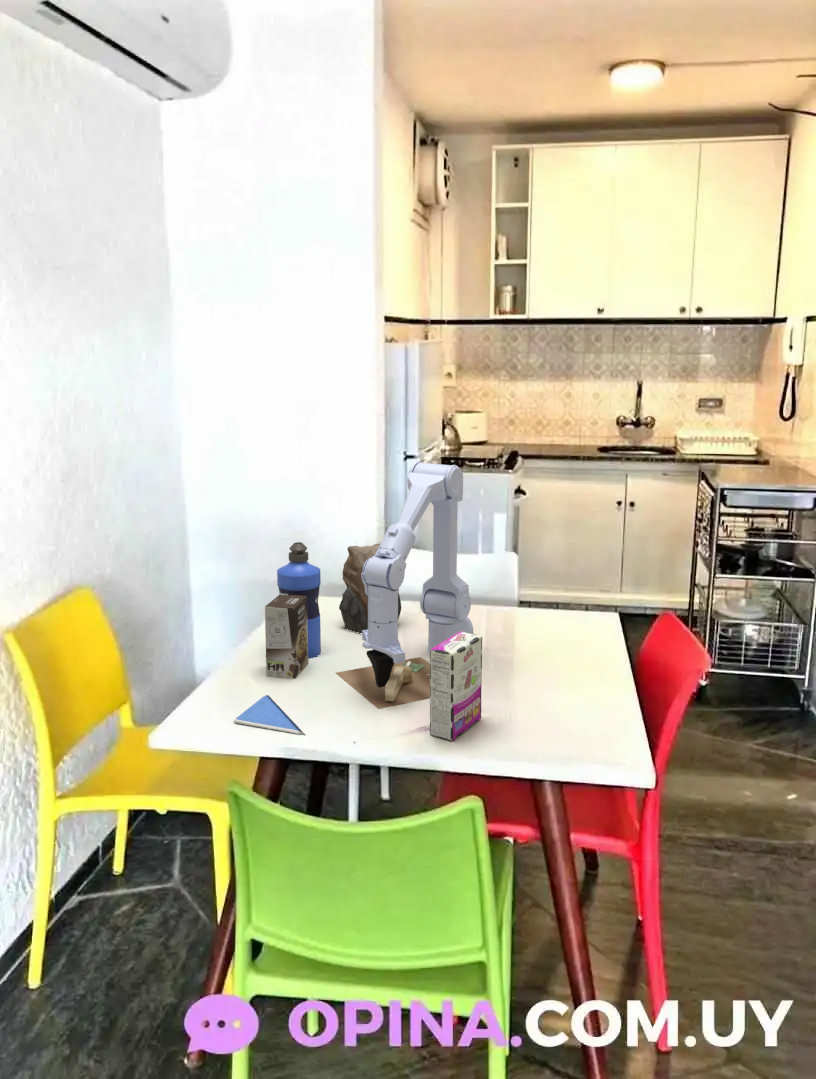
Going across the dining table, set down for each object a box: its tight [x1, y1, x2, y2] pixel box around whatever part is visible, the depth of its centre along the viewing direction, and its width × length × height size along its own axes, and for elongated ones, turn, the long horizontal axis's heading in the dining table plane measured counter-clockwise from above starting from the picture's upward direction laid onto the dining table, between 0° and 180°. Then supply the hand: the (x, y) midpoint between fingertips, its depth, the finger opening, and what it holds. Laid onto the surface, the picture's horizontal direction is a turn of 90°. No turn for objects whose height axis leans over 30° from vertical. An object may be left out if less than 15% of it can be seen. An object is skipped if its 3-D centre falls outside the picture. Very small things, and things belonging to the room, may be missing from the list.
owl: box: [338, 543, 402, 634], centre depth 210 cm, size 13×13×20 cm
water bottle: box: [276, 541, 322, 660], centre depth 192 cm, size 9×9×25 cm
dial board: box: [335, 656, 430, 710], centre depth 176 cm, size 20×20×1 cm
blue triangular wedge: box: [233, 694, 307, 736], centre depth 162 cm, size 19×13×1 cm, turn 71°
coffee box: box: [264, 594, 309, 680], centre depth 180 cm, size 9×6×16 cm
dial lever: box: [385, 661, 412, 701], centre depth 175 cm, size 20×4×3 cm, turn 169°
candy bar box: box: [429, 632, 483, 742], centre depth 157 cm, size 11×5×16 cm, turn 148°
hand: (382, 685), depth 170 cm, fingers closed, pressing on dial lever
